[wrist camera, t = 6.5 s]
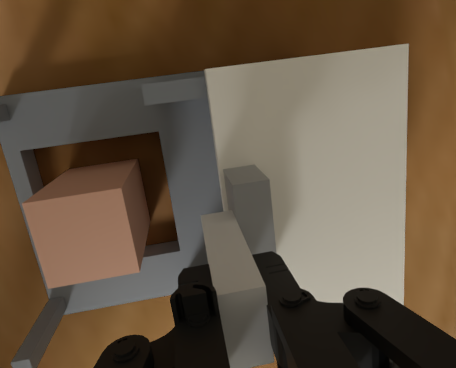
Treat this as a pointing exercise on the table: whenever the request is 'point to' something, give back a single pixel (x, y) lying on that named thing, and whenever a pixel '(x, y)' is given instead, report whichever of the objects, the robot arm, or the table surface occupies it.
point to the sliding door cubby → (110, 128)
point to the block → (90, 223)
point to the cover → (318, 164)
